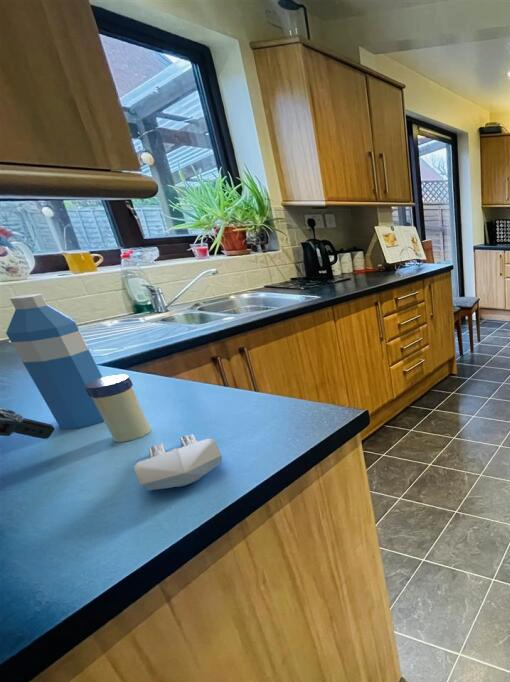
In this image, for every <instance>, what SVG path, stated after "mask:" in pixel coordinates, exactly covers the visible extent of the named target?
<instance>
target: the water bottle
mask: <svg viewBox="0 0 510 682" xmlns="http://www.w3.org/2000/svg"><path fill="white" fill-rule="evenodd" d="M9 300H10V302H11V304H12V306H13V308H14V309H15V310H14V313H13V315H12V317H11V319H10V323H9V325H8V327H7V329H6V333H5V334H6V336H7V337H8V339H9V341H10V343H11V344H12V346H13V348H14V350H15V351H16V353H17V355H18V357H19V358H20V360H21V363H22V364H23V365H24V368H25V369H26V371H27V373H28V374H29V376H30V379H32V381H33V383H34V385H35V386H36V388H37V391H38V392H39V393H40V396H41V397H42V399H43V400H44V402H45V404H46V406H47V407H48V409H49V411H50V413H51V414H52V416H53V418H54V420H55V421H56V424H57V425H58V427H59V429H60V430H73V429H76V430H77V429H82V428H86V427H89V426H90V427H91V426H93V425H97V424H100V423H105V422H104V420H103V419H102V417H101V415H100V413H99V411H98V409H97V407H96V405H95V403H94V401H93V399H92V397H89V395H88V393H87V392H86V390H85V388H84V385H85V384H87V383H89V382H91V381H94V380H97V379H100V378H104V377H103V375H102V373H101V371H100V369H99V367H98V365H97V363H96V360H95V359H94V356H93V355H92V352H91V351H90V349H89V347H88V344H87V343H86V341H85V339H84V336H83V334H82V332H81V331H80V328H79V326H78V324H77V322H76V321H75V319H74V318H72V317H71V316H69V315H67V314H65V313H64V312H61V311H60V310H58V309H57V308H55V307H53V306H51V305H49V304H47V301H46V300H45V297H44V295H43V293H31V294H24V295H16V296H10V297H9Z"/></svg>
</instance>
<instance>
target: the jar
mask: <svg viewBox="0 0 510 682" xmlns="http://www.w3.org/2000/svg"><path fill="white" fill-rule="evenodd" d="M92 399H93V401H94V403H95V405H96V407H97V409H98V411H99V413H100V415H101V417H102V419H103V420H104V422H103V423H104V424H105V426H106V428H107V430H108V432H109V434H110V436H111V438H112V440H113V441H114V442H116V443H125V442H130V441H133V440H137V439H140V438H142V437H144V436H146V435H147V434H149V433H150V432H151V431H152V427H151V425H150V423H149V420H148V418H147V416H146V414H145V412H144V410H143V408H142V406H141V403H140V401H139V399H138V397H137V395H136V393H135V391H134V388H133V386H132V387H131V388H129V389H127V390H125V391H123V392H120V393H117V394H113V395H109V396H103V397H92Z"/></svg>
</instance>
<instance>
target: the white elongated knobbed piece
mask: <svg viewBox="0 0 510 682" xmlns="http://www.w3.org/2000/svg"><path fill="white" fill-rule="evenodd" d="M179 442H180V443H181V445H182V446H181V447H178V448H176V447H175V448H173V449H172V450H170V451H166V447H165V445H164V444H163V443H161V444H159V443H158V444H155V445H154V446H153V445H152V446H150V447H148V453H149V458H146V459H142V460H139V461H137V463H136V464H135V465H134V466H133V470H134V472H135V475H136V477H137V479H138V481H139V483H140V485H141V486H142V487H143V488H144V489H145V490H147V491H154V490H162V489H169V488H170V489H171V488H174V487H175V488H176V487H177V488H180V487H185V486H188V485H191V484H193V483H195V482H198V481H199V480H200V479H201V478H202V477H203V476H205V475H207V474H208V473H209V472H211V471H212V470H214V469H215V468H216V467H218V466H220V464H222V454H221V451H220V449H219V447H218V444H217V441H216V440H215V439H213V438H205V439H202V440H199V441H198V439H197V438H196V436H195V435H194V434H193V433H191V434H186V435H183V436H182V437H180V438H179Z"/></svg>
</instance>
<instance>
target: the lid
mask: <svg viewBox="0 0 510 682" xmlns="http://www.w3.org/2000/svg"><path fill="white" fill-rule="evenodd" d="M133 386H134V384H133V382H132V380H131V378H130V376H129V375H128V374H115V375H108V376H104V377H103V378H100V379H97V380H94V381H91V382H89V383H87V384H85V385H84V388H85V390H86V392H87V393H88V395H89V397H103V396H109V395H113V394H117V393H120V392H123V391H125V390H127V389H129V388H131V387H132V388H133Z"/></svg>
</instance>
